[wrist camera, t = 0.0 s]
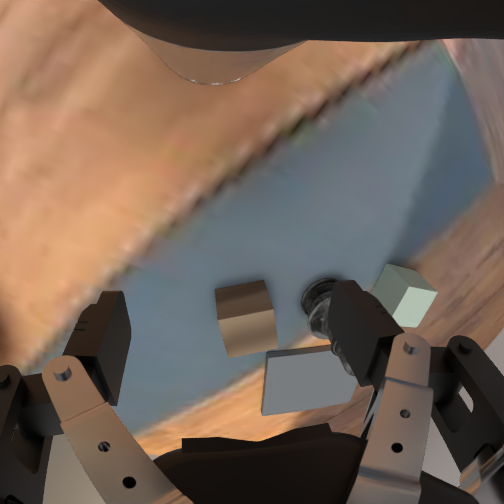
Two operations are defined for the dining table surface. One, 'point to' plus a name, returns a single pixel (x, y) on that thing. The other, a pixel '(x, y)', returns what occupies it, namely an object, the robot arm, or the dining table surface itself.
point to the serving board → (304, 380)
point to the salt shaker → (322, 315)
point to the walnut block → (246, 318)
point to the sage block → (404, 294)
